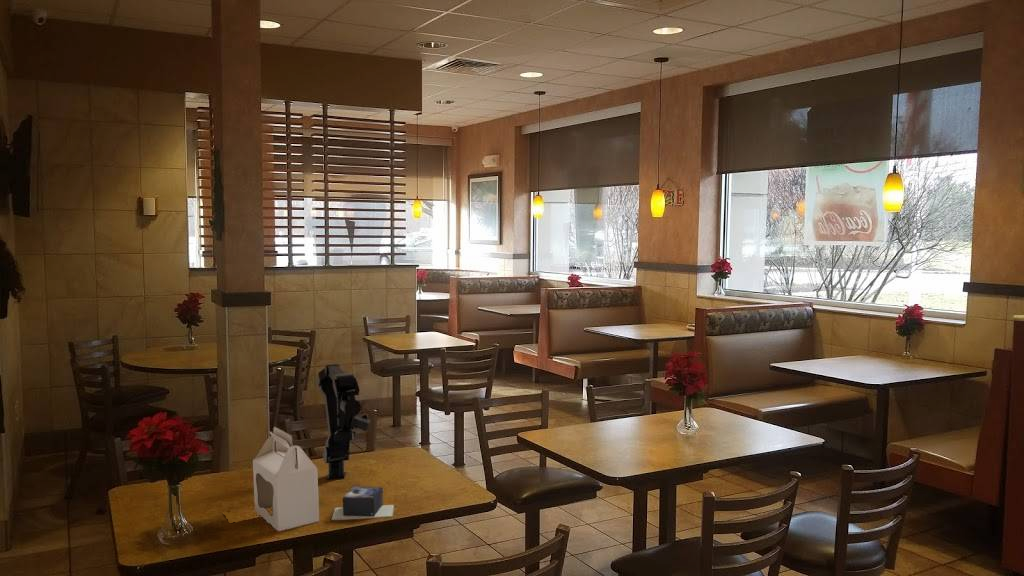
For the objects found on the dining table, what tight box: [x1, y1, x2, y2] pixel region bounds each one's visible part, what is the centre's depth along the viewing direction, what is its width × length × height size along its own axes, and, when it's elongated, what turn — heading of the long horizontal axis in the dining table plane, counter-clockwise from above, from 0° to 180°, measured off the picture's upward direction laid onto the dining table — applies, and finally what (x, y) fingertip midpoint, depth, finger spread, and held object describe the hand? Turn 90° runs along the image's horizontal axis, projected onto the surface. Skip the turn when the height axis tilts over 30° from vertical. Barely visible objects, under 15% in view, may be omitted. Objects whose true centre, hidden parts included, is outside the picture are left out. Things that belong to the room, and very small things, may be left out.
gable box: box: [252, 426, 320, 532], centre depth 243 cm, size 22×13×28 cm, turn 37°
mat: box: [331, 504, 395, 521], centre depth 246 cm, size 10×19×1 cm, turn 96°
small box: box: [342, 486, 384, 516], centre depth 247 cm, size 11×6×10 cm
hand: (346, 454), depth 268 cm, fingers closed
